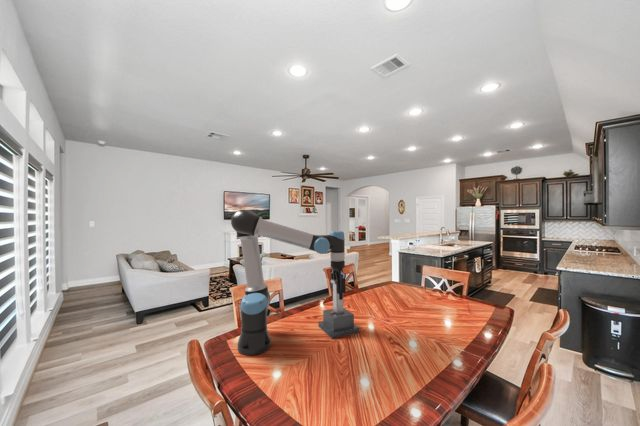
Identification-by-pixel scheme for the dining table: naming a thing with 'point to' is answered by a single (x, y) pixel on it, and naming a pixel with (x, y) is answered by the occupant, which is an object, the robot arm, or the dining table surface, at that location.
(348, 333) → the stand base
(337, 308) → the column
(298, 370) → the dining table surface
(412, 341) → the dining table surface
